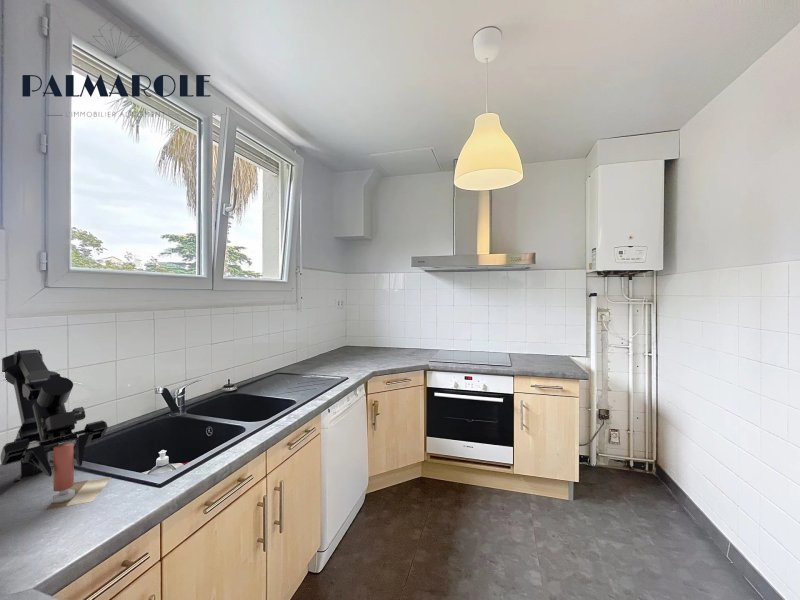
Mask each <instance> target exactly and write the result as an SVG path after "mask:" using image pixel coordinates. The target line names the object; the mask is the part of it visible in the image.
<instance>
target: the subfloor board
mask: <svg viewBox="0 0 800 600" xmlns="http://www.w3.org/2000/svg"><path fill="white" fill-rule="evenodd" d="M111 479H112V476H109V477H103V478H97V479H91V480H90V479H89V480H82V481H74V485H73V486H72V487H71V488H69V489H68V490H70V489H73V490H75V496H74V497H73V498H72V499H70V500H68V501H65V502H62V503H53V502H52V501H51V503H49V505H48V506H46V508H45V509H44V510H45V511H47V510H52V509H57V508H63V507H68V506H74V505H80V504H85V503H90V502H91V503H93V502H94V501H95V500H96V498H97V497H98V495H99V494H100V493H101V492H102V490H103V489H104V488H105V486H106V485H107V484H108V483H109V481H110V480H111Z"/></svg>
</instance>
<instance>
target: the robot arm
mask: <svg viewBox="0 0 800 600" xmlns="http://www.w3.org/2000/svg"><path fill="white" fill-rule="evenodd" d="M1 360H2V372H5V378H6V380H7V381H6V380H5V381H6V382H8V383H9V384H11V385H13V387H14V392H15V393H14V394H15V399H16V401H17V402H16V403H17V408H18V412H19V413H18V414H19V416H20V417H19V418H20V422H21V425H20V427H19V429H18V431H17V433H16V436H15V439H14V440H13V441H12V442H11V441H10V442H8V443H5V445H4V446H2V449H1V452H0V463H1V466H7V465H11V464H14V463H17V462H20V463H19V464H20V465H19V468H20V470H19V471H20V474H19V475H18V476H16V477H15V478H14V479H13V480H12V482H13V483H16V482H20V481H21V480H22V479H24V478H26V477H27V478H28V477H33V476H36V475H38V474H40V473H44V474H45V475H46V476H47V477H51V476H52V475H53V472H52V470H53V465H50V452H53V448H54V447H55V446H57V445H60V444H65V443H69V442H71V441H75V443H74V455H75V460H76V465H77V466H78V468H81V467H82V465H83V460H84V455H85V454H84V453H85V448H86V446H88V445H89V444H90V443H91V442H94V441H97V440H101V439H103V437H104V435H105V433H106V432H107V430H108V427H109V426H108V424H107V421H104V420H102V419H101V420H98V421H93V422H90V423H89V422H88V423H86V424H85V426H84V428H83V429H80V430H78V431H77V430H76V431H74V430H75V428H76V424H77V423H78V421H82V420H84V419H85V418H86V411H85V408H84V406H79V407H75V408H73V409H72V410H71V411H69V412H68V411H67V409H66V405H65V404H66V403H67V402H68V399H69V397H70V395H71V393H72V391H73V388H74V382H73V381H72V380H71V379H69V378H68V377H65V376H61V374H60V373H59V372H57V371H51V370H49V369H48V367H47V365H46V364H45V362H44V361H43V354H42V353H41V351H40V349H35V348H34V349H24V350H18V351H14V353H13V354H10V355H7V356H5V357H2V358H1ZM73 431H74V432H73Z"/></svg>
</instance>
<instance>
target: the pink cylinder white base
mask: <svg viewBox="0 0 800 600" xmlns="http://www.w3.org/2000/svg"><path fill="white" fill-rule="evenodd" d="M74 446H75V443H74V442H64V443H60V444H59V445H57V446H55V447H54V448H53V451H52V463H53V464H52V466H53V469H52V470H53V472H52V475H53V480H52V481H53V492H57V493H55V494H53V495H52V497H51V503H52V502H53V503H62V502H65V501H68V500H70V499H72V498H73V497H74V496H75V490H73V489H70V490H68V489H69V488H71V487H72V486H73V485H74V482H75V479H74V478H75V475H74V474H75V473H74V472H75V471H74V468H75V467H74V466H75V465H74V462H75V461H74V460H75V459H74V458H75V457H74V455H75V451H74Z"/></svg>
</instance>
